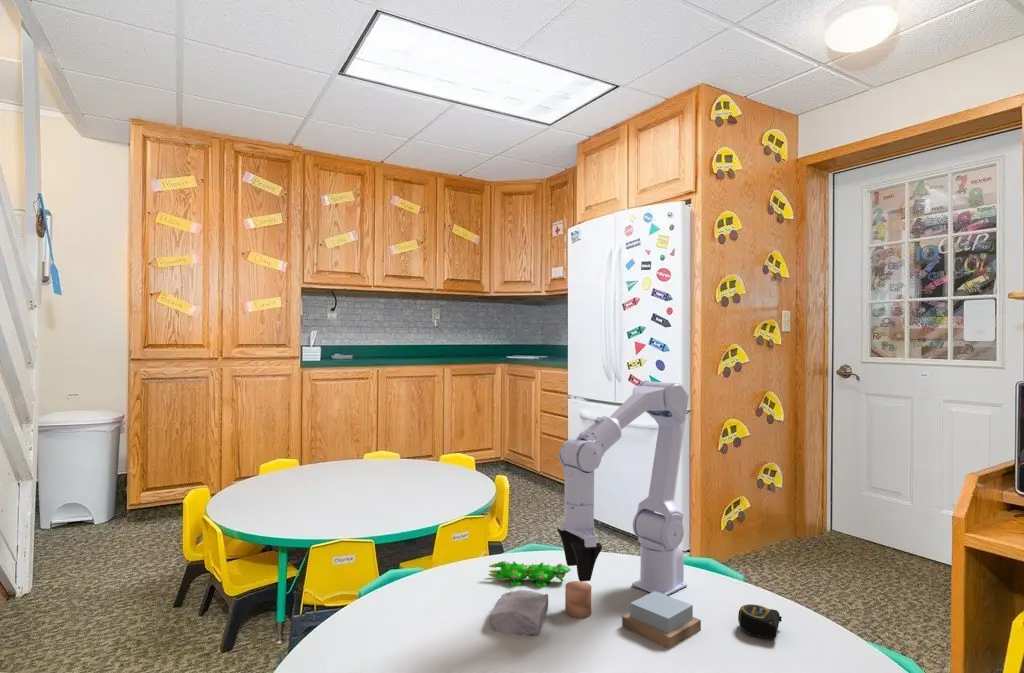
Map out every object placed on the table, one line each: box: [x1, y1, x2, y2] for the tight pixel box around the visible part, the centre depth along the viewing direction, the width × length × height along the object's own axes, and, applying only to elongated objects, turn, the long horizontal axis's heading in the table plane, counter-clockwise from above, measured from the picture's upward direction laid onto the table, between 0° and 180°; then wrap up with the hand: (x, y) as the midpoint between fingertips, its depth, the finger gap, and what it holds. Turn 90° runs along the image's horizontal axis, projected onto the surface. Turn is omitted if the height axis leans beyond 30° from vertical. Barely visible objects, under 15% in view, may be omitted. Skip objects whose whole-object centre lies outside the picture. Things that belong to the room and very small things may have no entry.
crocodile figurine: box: [488, 560, 572, 587], centre depth 122 cm, size 7×18×4 cm, turn 87°
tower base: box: [621, 612, 702, 649], centre depth 102 cm, size 10×10×2 cm
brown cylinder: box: [564, 580, 592, 620], centre depth 108 cm, size 5×5×5 cm
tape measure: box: [737, 603, 783, 639], centre depth 101 cm, size 7×7×4 cm
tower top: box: [629, 591, 694, 633], centre depth 102 cm, size 8×8×2 cm
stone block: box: [490, 589, 549, 636], centre depth 105 cm, size 12×5×10 cm
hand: (578, 572), depth 108 cm, fingers open, 7 cm apart
